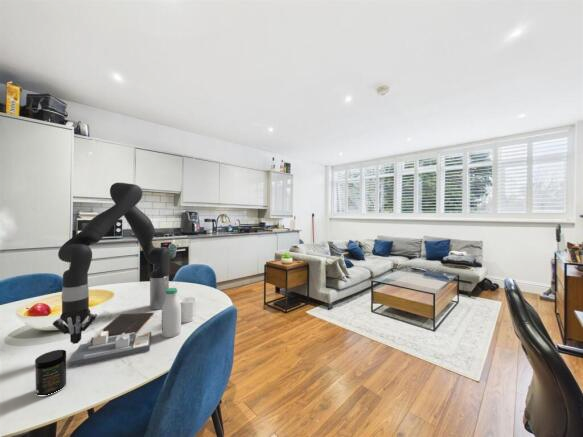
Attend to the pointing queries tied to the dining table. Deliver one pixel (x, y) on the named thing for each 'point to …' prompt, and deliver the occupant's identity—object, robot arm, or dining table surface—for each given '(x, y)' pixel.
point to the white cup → (187, 309)
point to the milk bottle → (171, 314)
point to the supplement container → (50, 372)
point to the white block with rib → (122, 341)
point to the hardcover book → (127, 324)
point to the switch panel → (110, 349)
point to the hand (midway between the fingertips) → (75, 342)
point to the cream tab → (100, 338)
